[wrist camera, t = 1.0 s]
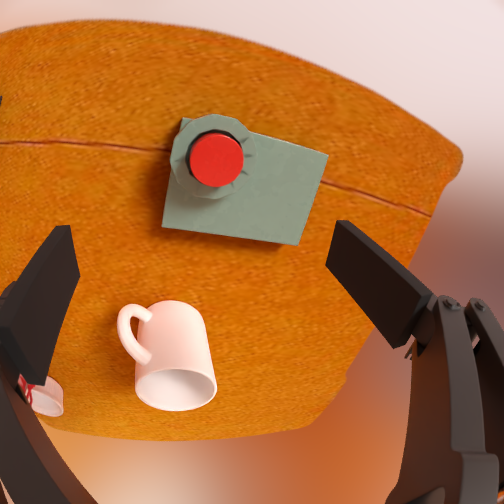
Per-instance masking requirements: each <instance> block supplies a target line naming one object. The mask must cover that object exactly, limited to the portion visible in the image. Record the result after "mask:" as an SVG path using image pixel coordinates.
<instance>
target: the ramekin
mask: <svg viewBox="0 0 504 504" xmlns="http://www.w3.org/2000/svg"><path fill="white" fill-rule="evenodd" d="M27 393H28V387H27V390H26V394H25V395H27ZM31 393H32V399H33V402H32V409H33V410H34V411H36V412H38V413H41V414H43V415H47V416H52V417H57V416H61V415H62V414H63V389H62V388H61V386H60V385H59V384H58V383H57V382H56V381H55V380H54V379H52V378H51V377H49V376H47V378H46V383H45V386H38V385H36V386H35V387H33V389H32V390H31ZM28 401H29V403H30V396H29V398H28Z"/></svg>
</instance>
